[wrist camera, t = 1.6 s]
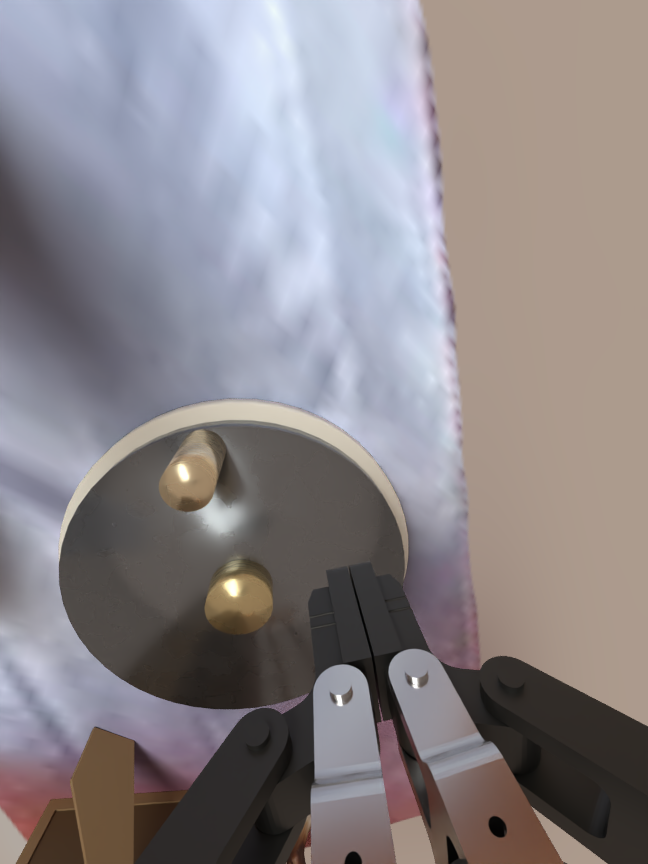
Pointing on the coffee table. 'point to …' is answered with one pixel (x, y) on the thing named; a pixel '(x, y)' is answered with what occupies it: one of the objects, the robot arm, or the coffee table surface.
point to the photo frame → (100, 810)
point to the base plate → (240, 411)
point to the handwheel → (219, 559)
